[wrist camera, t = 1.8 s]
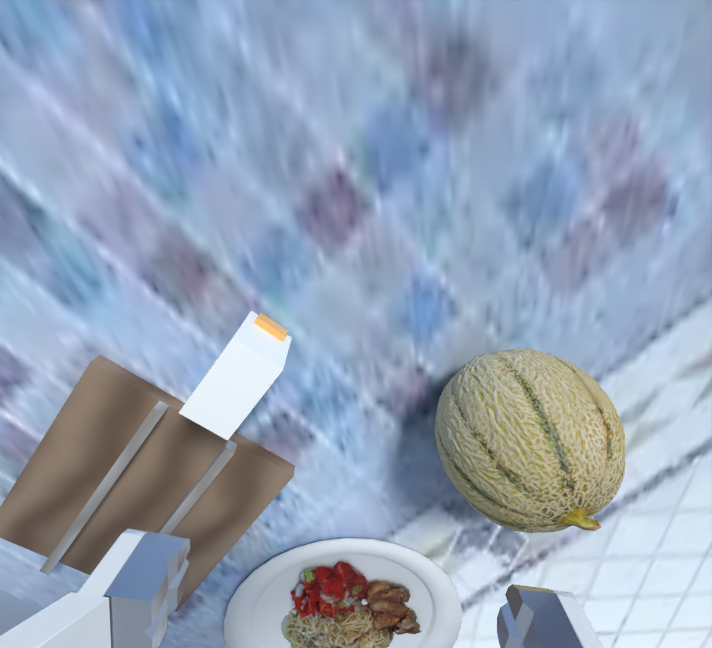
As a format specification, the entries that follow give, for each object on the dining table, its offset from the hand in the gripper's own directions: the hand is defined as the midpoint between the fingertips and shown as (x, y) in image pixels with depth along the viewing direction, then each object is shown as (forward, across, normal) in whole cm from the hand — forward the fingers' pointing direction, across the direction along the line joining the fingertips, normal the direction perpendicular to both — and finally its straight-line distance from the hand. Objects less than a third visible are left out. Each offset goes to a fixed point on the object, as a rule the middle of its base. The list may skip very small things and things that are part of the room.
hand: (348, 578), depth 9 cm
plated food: (+29, -5, +42) cm, 51 cm away
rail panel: (+26, +19, +24) cm, 40 cm away
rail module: (+26, +10, +6) cm, 29 cm away
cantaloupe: (+28, -15, +7) cm, 33 cm away
